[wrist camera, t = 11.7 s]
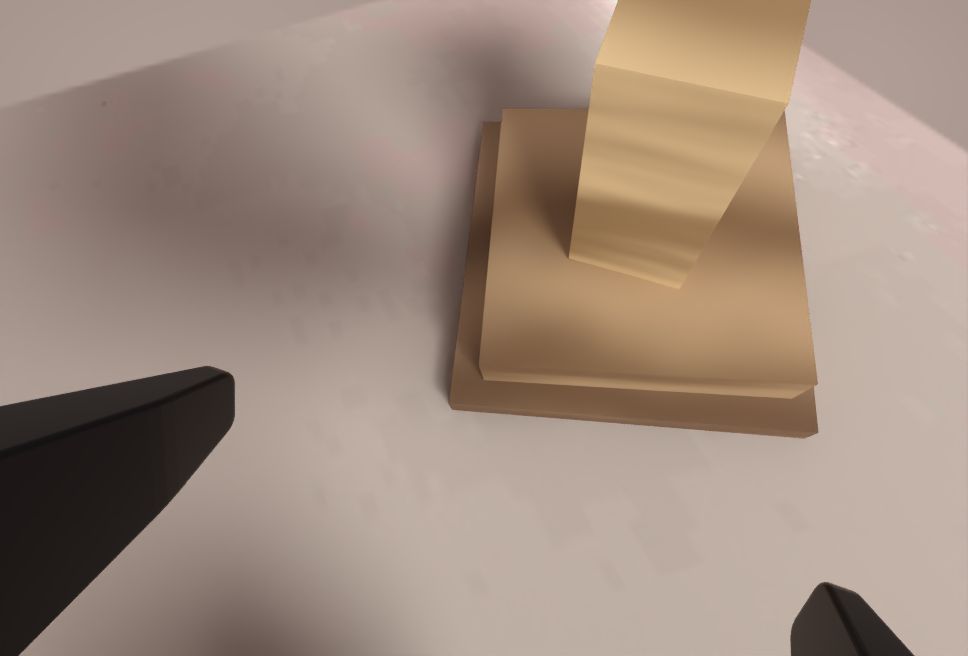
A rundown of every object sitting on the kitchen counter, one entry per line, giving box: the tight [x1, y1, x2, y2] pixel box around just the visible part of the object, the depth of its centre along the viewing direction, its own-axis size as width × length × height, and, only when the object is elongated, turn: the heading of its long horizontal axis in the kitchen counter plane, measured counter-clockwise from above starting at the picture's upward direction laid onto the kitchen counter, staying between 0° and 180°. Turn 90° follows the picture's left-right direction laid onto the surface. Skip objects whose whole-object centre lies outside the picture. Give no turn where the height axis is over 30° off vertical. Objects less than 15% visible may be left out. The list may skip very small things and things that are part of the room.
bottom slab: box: [449, 122, 818, 438], centre depth 24 cm, size 13×13×2 cm
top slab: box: [479, 108, 818, 399], centre depth 22 cm, size 11×11×2 cm
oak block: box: [569, 0, 811, 289], centre depth 17 cm, size 4×4×9 cm
